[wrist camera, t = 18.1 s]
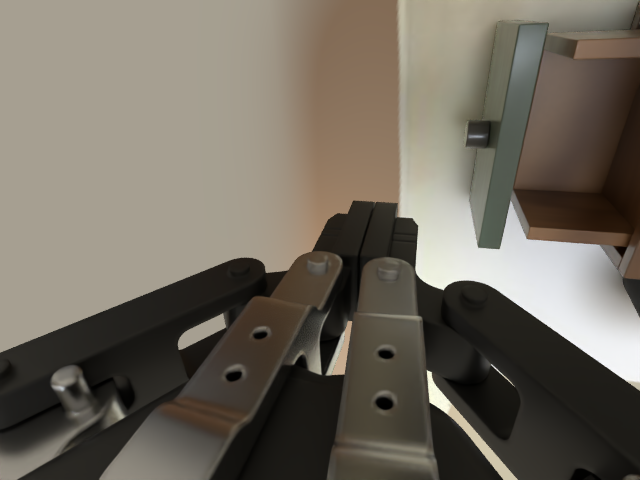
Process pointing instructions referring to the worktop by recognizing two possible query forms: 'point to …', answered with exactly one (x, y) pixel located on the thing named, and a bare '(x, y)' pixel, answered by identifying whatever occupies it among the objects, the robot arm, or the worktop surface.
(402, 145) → the worktop surface
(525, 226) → the drawer
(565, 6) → the worktop surface
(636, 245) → the cabinet
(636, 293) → the drinking cup
